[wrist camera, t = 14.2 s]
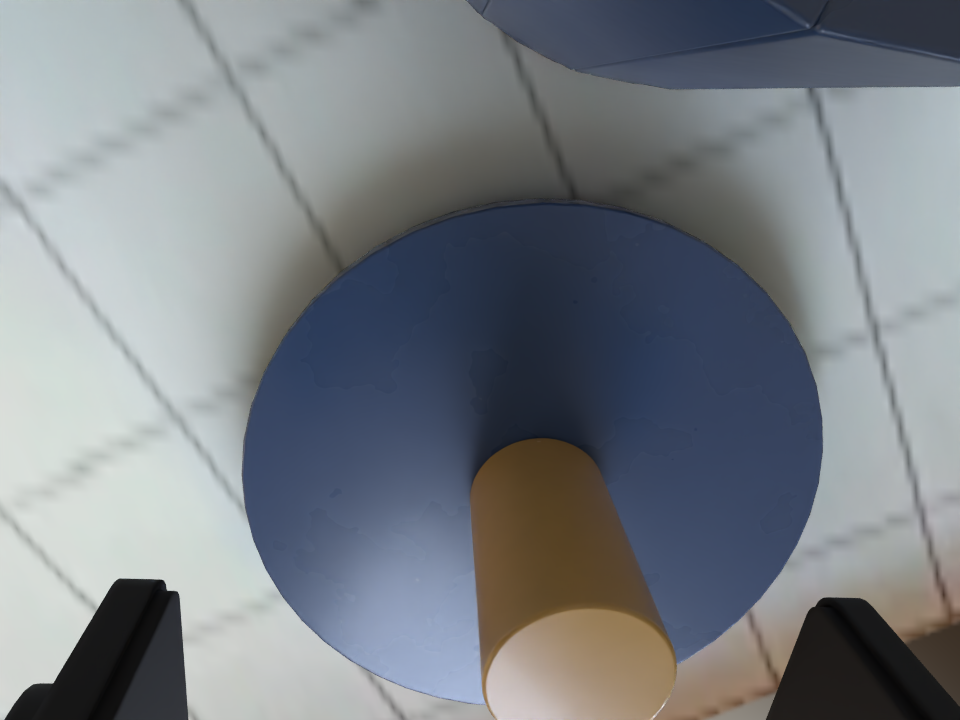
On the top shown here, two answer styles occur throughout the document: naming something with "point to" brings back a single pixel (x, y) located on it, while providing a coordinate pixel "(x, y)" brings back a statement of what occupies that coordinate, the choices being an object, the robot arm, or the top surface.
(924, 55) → the tin
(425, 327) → the tin lid
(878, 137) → the top surface
